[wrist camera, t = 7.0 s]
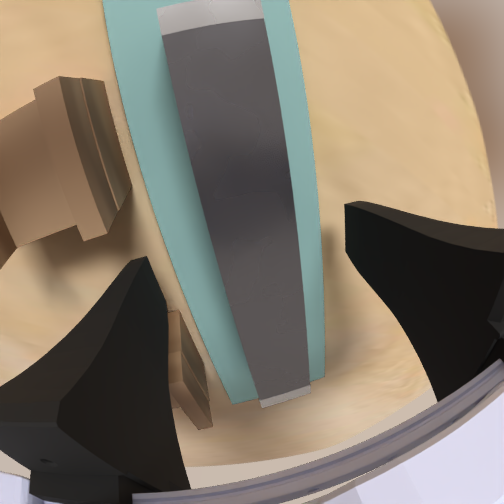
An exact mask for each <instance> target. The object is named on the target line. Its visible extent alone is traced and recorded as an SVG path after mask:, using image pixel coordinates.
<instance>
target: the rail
mask: <svg viewBox="0 0 504 504" xmlns="http://www.w3.org/2000/svg"><path fill="white" fill-rule="evenodd" d="M156 10H157V16H158V21H159V26H160V31H161V36H162V39H163V44H164V48H165V53H166V58H167V63H168V67H169V72H170V77H171V81H172V86H173V90H174V95H175V99H176V103H177V108H178V112H179V116H180V121H181V125H182V129H183V133H184V137H185V142H186V146H187V150H188V154H189V158H190V162H191V166H192V170H193V174H194V178H195V182H196V185H197V189H198V193H199V197H200V201H201V205H202V208H203V212H204V216H205V220H206V223H207V227H208V231H209V234H210V238H211V242H212V245H213V249H214V252H215V256H216V260H217V263H218V267H219V270H220V274H221V277H222V281H223V284H224V287H225V291H226V294H227V298H228V301H229V304H230V308H231V311H232V314H233V318H234V321H235V324H236V328H237V331H238V334H239V337H240V341H241V344H242V347H243V350H244V353H245V357H246V360H247V363H248V366H249V369H250V372H251V376H252V379H253V382H254V385H255V388H256V391H257V394H258V397H259V401H260V404H261V407H262V408H264V407H268V406H271V405H275V404H278V403H281V402H285V401H288V400H291V399H294V398H297V397H300V396H303V395H306V394H309V393H311V388H310V374H309V357H308V342H307V328H306V315H305V302H304V291H303V280H302V269H301V259H300V250H299V240H298V231H297V222H296V214H295V206H294V197H293V190H292V182H291V174H290V167H289V160H288V153H287V146H286V139H285V133H284V126H283V120H282V113H281V107H280V101H279V95H278V89H277V83H276V78H275V72H274V67H273V61H272V56H271V51H270V45H269V40H268V35H267V30H266V25H265V20H264V13H263V9H262V4H261V0H193V1H188V2H183V3H178V4H174V5H169V6H165V7H161V8H157V9H156Z"/></svg>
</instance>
